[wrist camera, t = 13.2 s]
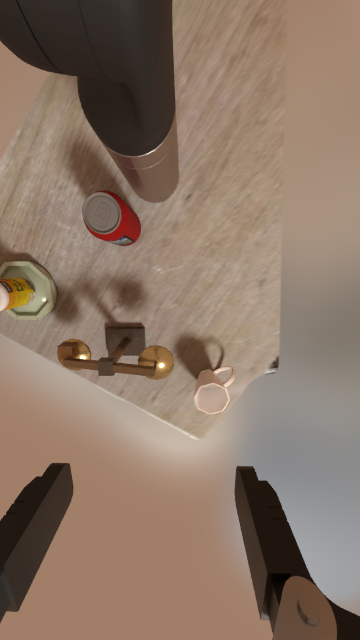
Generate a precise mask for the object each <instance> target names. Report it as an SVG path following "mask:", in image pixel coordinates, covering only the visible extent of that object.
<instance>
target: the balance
mask: <svg viewBox="0 0 360 640" xmlns="http://www.w3.org/2000/svg"><path fill="white" fill-rule="evenodd" d="M106 335H107V346H108V355H109V356H108V358H100V359H99V361H96V360H91V352H90V349H89V347H88V346H87V345H86V344H85V343H84V342H82V341H81V340H78V339H69V340H66V341H64V342H63V343H61V344H60V345H59V346H57V347H58V350H57V356H58V359H59V361H60V363H61V364H62V365H63V366H65V367H66V368H68V369H71V370H80V369H91V370H98V373H99V376H114V374H115V373H125V374H134V375H142V376H146V377H148V378H150V379H155V380H158V379H163V378H165V377H167V376H168V375H169V374H170V373H171V372H172V370H173V366H174V359H173V356H172V354H171V353H170V351H169V350H168V349H166V348H164V347H162V346H158V345H154V346H149V347H147V348H146V346H145V328H130V327H108V328H107V329H106ZM122 355H136V356H139V359H138V365H134V364H125V363H117V362H118V360H119V359H120V357H121V356H122Z"/></svg>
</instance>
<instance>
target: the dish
mask: <svg viewBox="0 0 360 640" xmlns="http://www.w3.org/2000/svg"><path fill="white" fill-rule="evenodd" d="M3 278H25V279H27V280H29V281H30V282H32V283H33V285H34V286H35V288H36V292H37V295H36V298H35V300H34V301H33V302H32V303H31V304H28V305H24V306H20V307H16V308H11V309H7V310H5V311H6V312H7V313H9V314H10V315H11V316H12V317H14V318H15V319H17V320H39V319H41V318H42V317H43V316H45V315H47V314H48V313H50V312H51V311H52V309H53V308H54V306H55V304H56V301H57V288H56V285H55V282H54V280H53V278H52V277H51V275H50V274H49V273H48V272H47V271H46V270H45V269H44V268H43V267H41V266H40V265H38V264H36V263H33V262H29V261H14V262H4V263H3V265H2V266H1V267H0V279H3Z"/></svg>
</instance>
